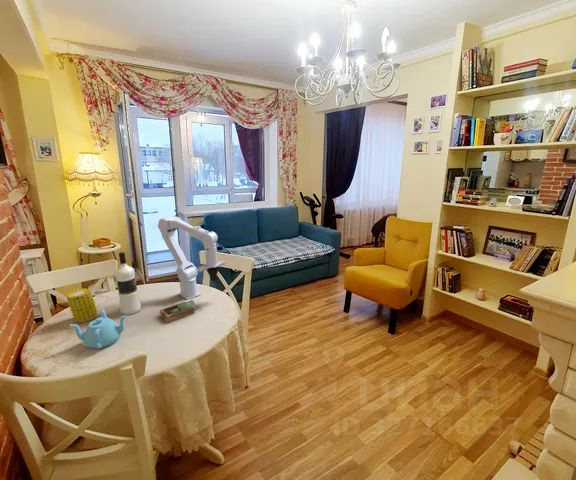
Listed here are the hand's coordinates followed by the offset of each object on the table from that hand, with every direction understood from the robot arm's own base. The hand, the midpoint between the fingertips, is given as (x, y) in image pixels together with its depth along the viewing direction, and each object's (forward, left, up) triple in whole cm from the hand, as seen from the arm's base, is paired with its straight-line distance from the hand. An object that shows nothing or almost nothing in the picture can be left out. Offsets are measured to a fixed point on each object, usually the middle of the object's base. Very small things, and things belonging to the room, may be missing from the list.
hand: (213, 280), depth 156 cm
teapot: (+1, -52, -11) cm, 53 cm away
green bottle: (+3, -13, -8) cm, 16 cm away
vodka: (-18, -36, -11) cm, 42 cm away
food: (-25, -54, -11) cm, 60 cm away
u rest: (+2, -21, -10) cm, 23 cm away
